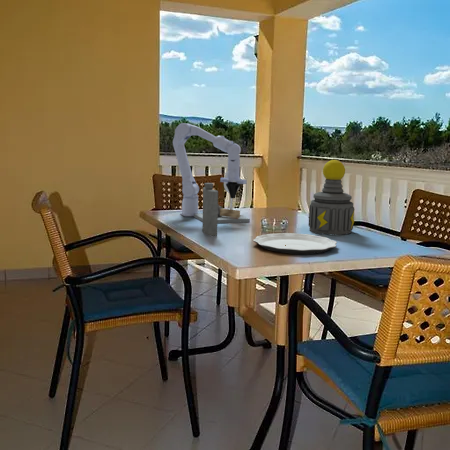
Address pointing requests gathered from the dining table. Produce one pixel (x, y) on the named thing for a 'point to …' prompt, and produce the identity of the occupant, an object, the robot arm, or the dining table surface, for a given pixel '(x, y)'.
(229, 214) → the curved bar with hub
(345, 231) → the decorative lamp
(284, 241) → the plate
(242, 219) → the grey flat slab
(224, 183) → the wineglass
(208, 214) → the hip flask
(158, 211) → the dining table surface
